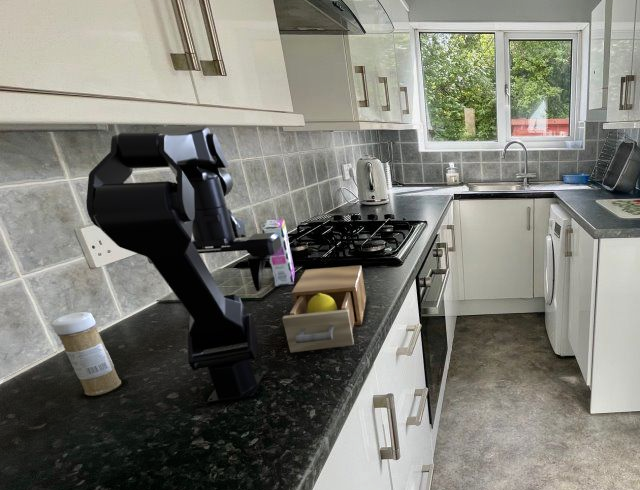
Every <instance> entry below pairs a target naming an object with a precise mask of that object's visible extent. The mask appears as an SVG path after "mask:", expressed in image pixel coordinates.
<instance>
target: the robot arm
mask: <svg viewBox="0 0 640 490" xmlns="http://www.w3.org/2000/svg"><path fill="white" fill-rule="evenodd" d="M223 151H224V150H223V149H222V146H221V144H220V142H219V139H218V137H217V134H216V133H212V132H211V130H210V128H209V127H208V126H207V125H161V126H158V127H156V128H155V129H154V130H152V131H150V132H149V131H148V132H147V131H144V132H143V131H140V132H138V131H136V132H133V131H131V132H127V131H125V132H120V133H118V134H113V135H112V136H111V139H110V152H108V154H106V156H105V157H104V158H102V160H100V162H99V163H97V164H96V165H95V167H93V168H92V170H90V172H89V173H88V180H87V190H86V202H85V203H86V211H87V215H88V217H89V219H90V220H91V221H90V222H92V224H93V225H94V226H95V227H96V228H98V229H100V230H101V232H102V233H104V234H105V236H107V237H108V238H109V240H111V241H112V242H113V243H114V244H115V245H116V246H118V247H119V248H121V249H124V250H127V251H129V252H133V253H135V254H136V255H137V254H138V255H140V256H143V257H146V258H147V261H148V263H149V264H151V265H153V267H154V268H155V270H156V271H157V272H158V273H159V275H160V276H161V277H162V279H163V280H164V282H165V283H166V284H167V286H168V287H169V289H170V290H171V291H172V293H173V294H174V296H176V298H177V300H179V302H180V303H181V305H182V306H183V307H184V308H185V310H186V312H187V313H188V314H189V323H188V325H187V331H186V334H185V337H186V349H187V356H188V357H187V358H188V359H187V360H188V364H189V367H190V368H191V369H192V371H198V370H201V369H206V368H207V369H208V373H209V376H210V379H211V382H212V385H213V388H214V390H213V391H212V393H211V394H210V396H209V398H208V399H207V403H208V404H216V403H217V404H218V403H225V402H230V401H238V400H244V399H251V398H254V396H255V394H256V393H257V390H258V388H259V386H260V384H261V382H262V381H263V379H264V376H265V375H264V373H256V374H255V371H254V368H253V365H252V362H251V360H255V359H256V358H257V354H258V350H259V341H258V335H257V330H256V324H255V320H254V316H253V315H252V313H249V312H248V310H247V309H246V306H245V305H244V304H243V302H242V300H241V297H240V296H239V295H238V294H236V293H233V294H225V295H224V294H223V292H222V291H221V289H220V287H219V285H218V284H217V282H216V280H215V279H214V277H213V275H212V274H211V272H210V270H209V268H208V267H207V265H206V262H204V260H203V257H202V256H201V255H200V254H212V253H213V254H214V253H230V252H243V251H245V252H247V253H248V254H249V255H250V256H249V257H248V258H247V263H248V267H249V271H250V275H251V279H252V283H253V286H254V288H255V291H256V292H260V291H261V289H262V284H263V283H262V282H263V276H264V269H265V265H266V263H267V260H269V257H270V256H271V255H273V254H275V253H276V252H277V251H278V250H279V249H280V248H281V247H282V244H281V240H280V237H279V236H278V235H277V234H276V233H263V232H260V233H259V232H258V233H253V234H252V235H251V236H249V237H248V238H247V234H246V233H247V232H246V225H245V224H246V223H245V220H244V219H241V218H239V217H234V216H233V211H232V210H231V208H228V206H227V201H226V198H225V197H226V196H227V195H229V194H230V193H231V192H232V189H233V187H234V186H233V185H234V182H233V178H232V177H231V175H230V173H228V171H226V170H225V169H227V168H229V163H228V161H227V158H226V156H225V154H224V152H223ZM152 168H155V169H156V168H169V170H171V172H172V174H174V176H175V181H176V182H174V181H173V182H172V181H169V180H167V181H166V180H165V181H146V182H143V181H142V182H127V183H125V182H126V181H127V180H128V179H129V178H130V177H131V176H132V174H133V171H134V170H133V169H152ZM192 237H193V240H192ZM239 238H240V239H239ZM241 238H247V239H241ZM241 344H244V345H241ZM235 345H237V346H235ZM230 346H233V347H230ZM224 347H227V348H224ZM217 348H218V349H217ZM219 348H221V349H219ZM212 349H213V350H212ZM214 349H215V350H214ZM206 350H207V351H206Z"/></svg>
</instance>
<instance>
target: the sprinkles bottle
mask: <svg viewBox="0 0 640 490" xmlns="http://www.w3.org/2000/svg"><path fill="white" fill-rule="evenodd" d="M50 325H51V328H52V330H53V331H54V334H55V335H57V337H58V338H59V340H60V342H61V344H62V346H63V348H64V352H65V353H66V356H67V357H68V360H69V362H70V364H71V366H72V368H73V370H74V372H75V374H76V376H77V379H79V381H80V383H81V386H82V388H83V390H84V394H85V395H86V396H88V397H90V396H91V397H92V396H95V397H96V396H100V395H105V394H108V393H109V392H112V391H114V390H116V389H117V388H118V387H120V386H121V384H122V380H121V379H120V378H119V376H118V373H117V370H116V369H115V365H114V363H113V361H112V359H111V356H110V354H109V352H108V349H107V348H106V346H105V343H104V342H103V339H102V336H101V335H100V333H99V331H98V329H97V324H96V320H95V318H94V316H93V314H92V313H91V312H88V311H81V312H80V311H79V312H73V313H69V314H64V315H63V316H60V317H57V318H55V319H54V320H53V321H52V322H51V323H50Z"/></svg>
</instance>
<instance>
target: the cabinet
mask: <svg viewBox="0 0 640 490" xmlns="http://www.w3.org/2000/svg"><path fill="white" fill-rule="evenodd" d="M364 281H365V280H364V274H363V268H362V265H348V266H337V267H323V268H311V269H310V268H309V269H305V270H304V272H303V273H302V275H301V277H300V278H299V280H298V281H297V282H296V284H295V286H294V288H293V290H292V291H291V297H292V302H293V306H294V305H295V303H296V302H297V300H298V298H299V296H300V295H309V294H318V293H331V292H342V291H352V294H353V301H354V307H355V313H356V317H355V321H354V326H361V325H362V324H363V319H364V314H365V308H366V303H367V293H366V288H365V282H364Z"/></svg>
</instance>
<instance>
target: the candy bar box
mask: <svg viewBox="0 0 640 490" xmlns="http://www.w3.org/2000/svg"><path fill="white" fill-rule="evenodd" d="M285 221H286V220H285V218H278V219H277V218H276V219H267V220H265V222H264V223H263V225H262V227H261V231H262V233H276V234H277V235H278V236H279V237H280V240H281V244H282V247H281V248H280V249H279V250H278V251H277V252H276V253H275V254H273V255H271V256H270V257H269V258H268V261H269V262H268V263H269V266H270V271H271V275H272V279H273V284H274V287H282V286H291V285H294V284H295V274H296V272H295V267H294V261H293V256H292V251H291V247H290V242H289V236H288V231H287V226H286V222H285Z"/></svg>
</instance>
